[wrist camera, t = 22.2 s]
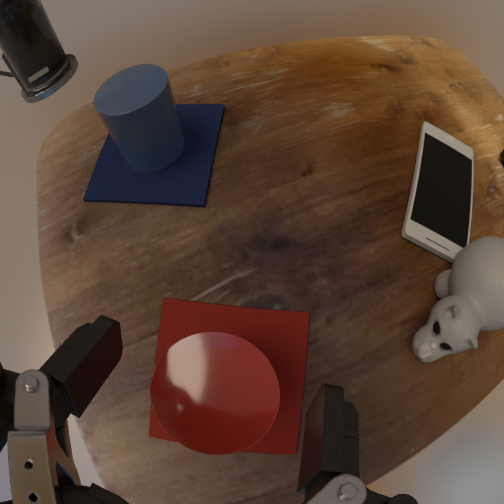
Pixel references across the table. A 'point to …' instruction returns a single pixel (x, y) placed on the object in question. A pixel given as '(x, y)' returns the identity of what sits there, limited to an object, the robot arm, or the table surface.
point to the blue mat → (171, 178)
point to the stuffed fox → (502, 156)
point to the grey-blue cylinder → (142, 117)
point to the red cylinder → (215, 392)
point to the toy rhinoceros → (465, 301)
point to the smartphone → (440, 194)
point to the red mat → (265, 339)
